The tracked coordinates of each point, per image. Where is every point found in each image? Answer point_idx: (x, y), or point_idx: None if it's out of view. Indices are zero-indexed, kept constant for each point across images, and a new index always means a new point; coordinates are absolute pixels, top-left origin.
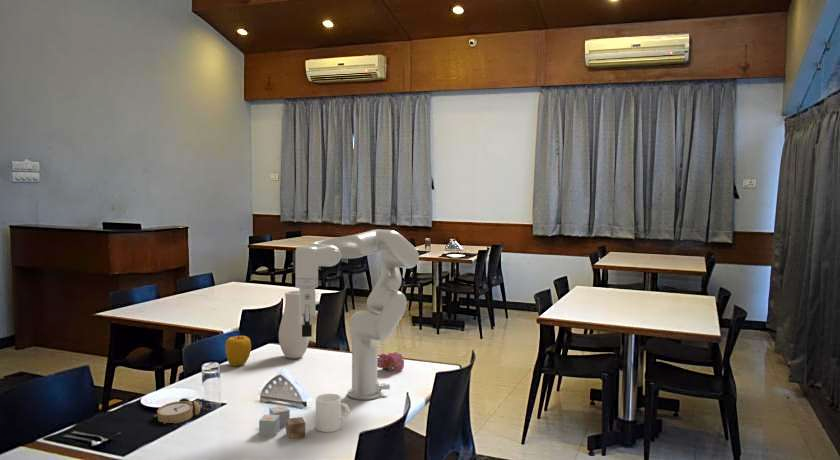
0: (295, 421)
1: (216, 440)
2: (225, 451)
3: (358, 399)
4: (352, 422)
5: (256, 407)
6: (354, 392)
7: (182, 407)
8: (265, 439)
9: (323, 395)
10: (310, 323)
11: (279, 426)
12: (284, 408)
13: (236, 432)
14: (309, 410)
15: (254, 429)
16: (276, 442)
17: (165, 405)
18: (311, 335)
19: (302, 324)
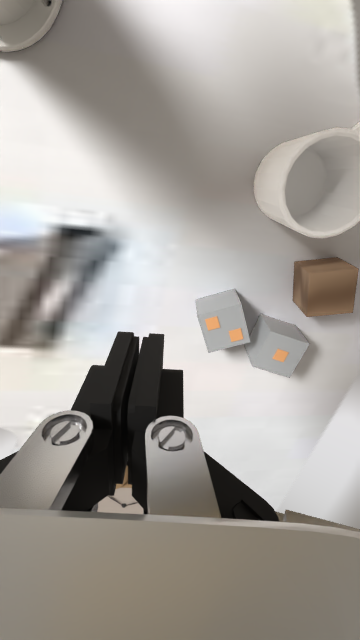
0: (337, 294)
1: (269, 427)
2: (330, 413)
3: (59, 8)
4: (281, 89)
5: (91, 358)
6: (17, 13)
7: (117, 496)
8: None
9: (284, 201)
10: (199, 446)
11: (263, 318)
12: (222, 315)
13: (241, 396)
14: (138, 224)
15: (236, 364)
16: (332, 324)
17: None
18: (162, 336)
19: (110, 491)
